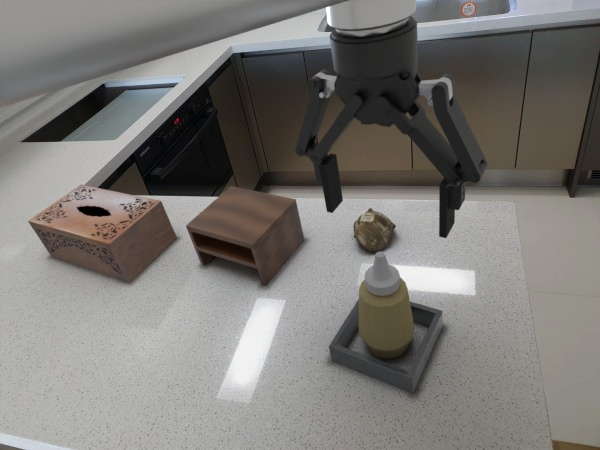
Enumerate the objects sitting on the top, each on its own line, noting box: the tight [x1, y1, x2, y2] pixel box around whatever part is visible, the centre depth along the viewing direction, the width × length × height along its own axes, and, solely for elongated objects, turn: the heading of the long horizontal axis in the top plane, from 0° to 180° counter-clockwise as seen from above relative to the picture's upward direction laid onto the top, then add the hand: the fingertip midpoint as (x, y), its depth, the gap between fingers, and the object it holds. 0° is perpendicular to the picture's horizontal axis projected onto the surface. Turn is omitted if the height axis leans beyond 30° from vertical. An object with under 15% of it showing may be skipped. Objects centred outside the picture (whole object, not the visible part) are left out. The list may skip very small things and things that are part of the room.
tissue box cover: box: [27, 184, 178, 283], centre depth 99 cm, size 26×14×10 cm, turn 61°
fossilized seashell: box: [352, 207, 397, 252], centre depth 88 cm, size 8×7×10 cm
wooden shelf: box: [185, 185, 305, 287], centre depth 89 cm, size 14×16×10 cm
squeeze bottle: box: [358, 250, 416, 360], centre depth 64 cm, size 8×8×18 cm
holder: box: [328, 298, 444, 394], centre depth 68 cm, size 13×13×4 cm
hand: (387, 217), depth 52 cm, fingers open, 13 cm apart
